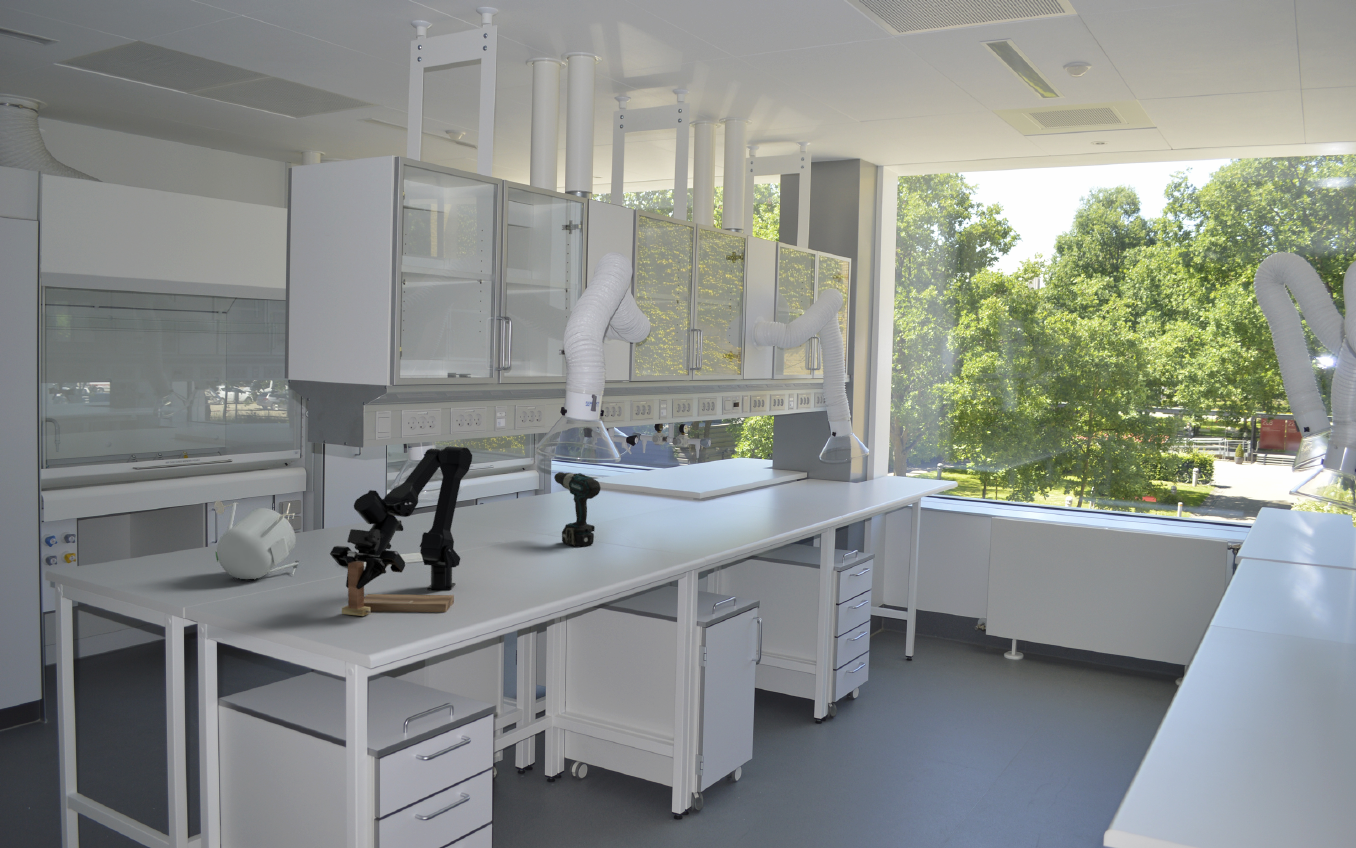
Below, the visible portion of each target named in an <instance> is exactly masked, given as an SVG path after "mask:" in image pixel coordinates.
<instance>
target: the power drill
mask: <svg viewBox="0 0 1356 848" xmlns="http://www.w3.org/2000/svg"><path fill="white" fill-rule="evenodd" d="M553 478H554V481H555V483H556V484H559V485H561V486H562V487H563V488H564V489H567V490H568V491H569V494H571V495H573V502H574V509H575V515H576V516H575V517H576V521H575V522H570V523H567V524H565V526H564V528H563V530H562V531H561V542H562V543H563V544H565V545H567V544H568V545H567V546H571V547H575V546H580V547H585V546H586V547H587V546H591V545H593V544H594V541H595V540H594V539H595V538H596V536H595V535H594V532H595V530H596V529H595V525H592V524H589V523H588V522H587V518H588V505H587V502H588V499H589V500H591V499H594V498H595V497H597V496H599V494H600V492H601V485H600V482H599V481H598V480H596V479H594V478H593V477H591V476H589V475H586V474H583V473H581V472H578V473H573V472H563V471H559V472H557V473H555V474H554V477H553Z"/></svg>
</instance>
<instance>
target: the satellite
mask: <svg viewBox="0 0 1356 848" xmlns="http://www.w3.org/2000/svg"><path fill="white" fill-rule="evenodd" d="M238 504H240V503H239V502H234V501H233V503H231V504H227V505H224V503H223V502H222V501H221V500H216V501H215V502H214V504H213V505H214V506H213V507H214V510H215V512H216V514H217V515H223V514H224V512H225V508H227V507H230V506H232V507H231V512H230V517H229V521H228V526H227V531H225V533H223V534H222V536H221V537H220V539H219V541H218V542H217V545H216V551H215V558H216V562H217V563H219V564H220V566H221V568H222V570H224V571H225V572H226V573H227V574H229V575H230V576H232V577H233V578H236V579H238V578H240V579H239V580H241V579H254V580H256V579H255V578H258V579H261V578H262V577H264V576H265V575H266V574H272V573H275V572H278V571H282V570H286V569H290V568H292V569H293V571H292V574H293V575H294V573H295V571H296V569H297V568H298V566H299V564H300V563H299V562H300V560H295V561H294V562H293V563H292V562H291V563H289V564H286V565H282V566H278V567H275V566H276V565H278V564H279V563H281V562H282V561H283V560H285V559H286V558H287V557H288V556H289V554H290V553H291V552H292V551H293V550H294V549H295V546H296V543H297V537H296V533H295V530H294V527H293V526H292V525H291V523H290V522H289V518H290V516H292V518H295V515H296V513H290V506H291V503H290V502H289V503H288V504H287V505H288V506H287V510H286V511H284V512H283V513H282V514H281V513H279V512H277V511H276V510H274V509H270V508H267V507H259V508H256V509H255V510H252V511H250V513H248V514H247V515H246V516H245V517H243V518H242V519H241V520H239V521H238V522H237V523H236V524H235V525H234V519H235V513H236V509H237V505H238ZM286 516H288V517H287V518H286ZM274 567H275V568H274Z"/></svg>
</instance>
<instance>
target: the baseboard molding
mask: <svg viewBox="0 0 1356 848" xmlns="http://www.w3.org/2000/svg"><path fill="white" fill-rule="evenodd" d="M399 554H400V553H399ZM400 556H401V557H402V559H403V560H404V561H405V563H406V564H415V563H424V562H423V558H422V555H421V553H420V552H414V553H403V554H402V553H401V554H400ZM391 565H392V564H389V565H388V566H391ZM364 567H366V562H364Z"/></svg>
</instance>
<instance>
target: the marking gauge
mask: <svg viewBox="0 0 1356 848" xmlns="http://www.w3.org/2000/svg"><path fill="white" fill-rule="evenodd" d="M364 569H365V568H364V562H357V561H354V562H351V563H348V567H347V573H348V588H347V589H348V590H347V591H348V593H347V596H348V597H347V600H348V602H347V603H348V605H346V606H342V607H341V614H343V615H350V616H361V617H364V616H367V615H370V614H371V611H370V607H365V606H364V597H365V586H363V587H362V588H361V589H357V588H356V586H357V583H358V581H359V579H360V577H361V575H362V573H363V571H364Z"/></svg>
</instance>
